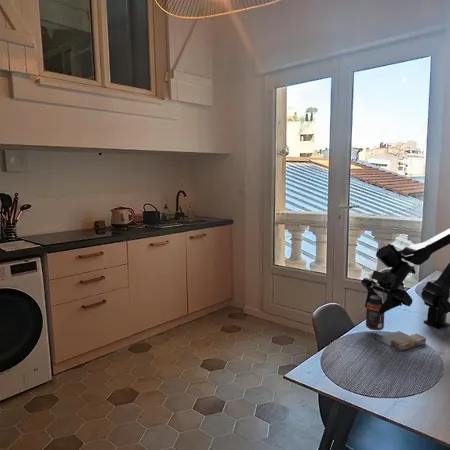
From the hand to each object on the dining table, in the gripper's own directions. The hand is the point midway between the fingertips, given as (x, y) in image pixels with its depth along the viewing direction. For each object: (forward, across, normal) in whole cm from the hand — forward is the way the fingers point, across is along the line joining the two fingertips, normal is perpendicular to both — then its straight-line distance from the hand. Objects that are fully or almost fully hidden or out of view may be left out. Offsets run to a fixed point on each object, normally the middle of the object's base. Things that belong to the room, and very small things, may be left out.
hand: (372, 310), depth 132 cm
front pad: (+3, +6, +9) cm, 12 cm away
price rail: (+3, +12, +9) cm, 15 cm away
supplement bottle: (+4, 0, +6) cm, 7 cm away
